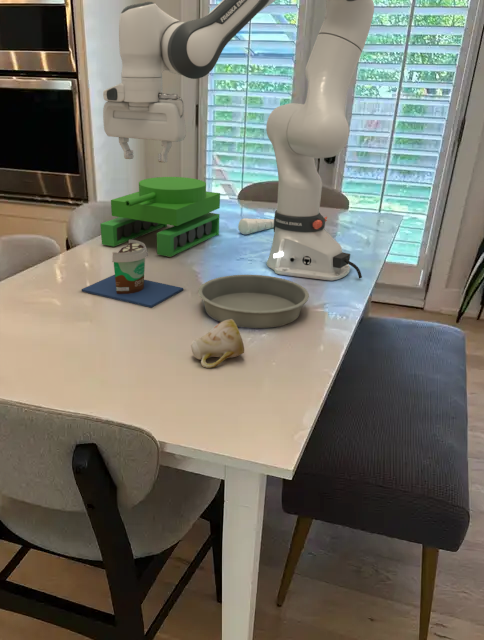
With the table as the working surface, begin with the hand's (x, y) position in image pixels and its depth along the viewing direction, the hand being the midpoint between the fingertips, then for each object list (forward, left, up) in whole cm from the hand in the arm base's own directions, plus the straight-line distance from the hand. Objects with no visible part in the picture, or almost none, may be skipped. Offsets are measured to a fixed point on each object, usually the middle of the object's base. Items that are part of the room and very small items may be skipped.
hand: (145, 160), depth 140 cm
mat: (-2, +11, -28) cm, 30 cm away
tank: (+16, -29, -28) cm, 43 cm away
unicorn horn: (-4, -61, -28) cm, 68 cm away
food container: (-3, +10, -27) cm, 29 cm away
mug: (-37, +33, -28) cm, 57 cm away
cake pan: (-32, +7, -28) cm, 43 cm away
